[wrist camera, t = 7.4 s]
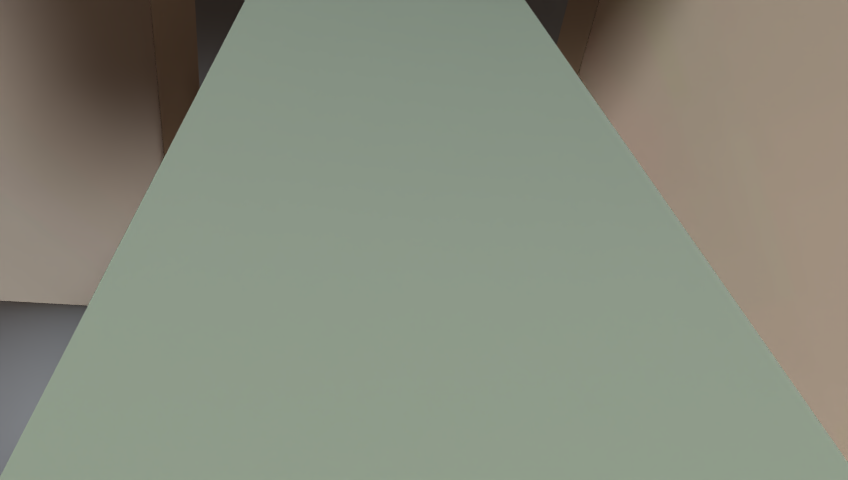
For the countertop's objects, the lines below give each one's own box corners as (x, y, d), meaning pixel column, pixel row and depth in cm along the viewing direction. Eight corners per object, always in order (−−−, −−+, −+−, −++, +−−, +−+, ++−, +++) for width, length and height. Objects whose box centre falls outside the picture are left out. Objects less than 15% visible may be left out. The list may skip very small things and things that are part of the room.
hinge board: (466, 425, 23) (479, 504, 20) (197, 416, 22) (175, 498, 19) (670, -325, 12) (753, -349, 9) (129, -436, 10) (55, -500, 8)
